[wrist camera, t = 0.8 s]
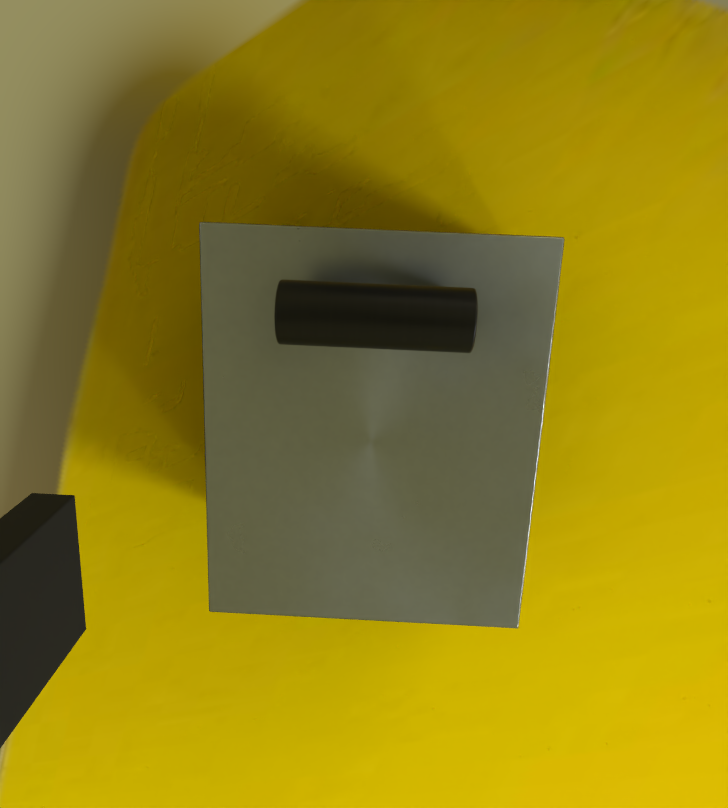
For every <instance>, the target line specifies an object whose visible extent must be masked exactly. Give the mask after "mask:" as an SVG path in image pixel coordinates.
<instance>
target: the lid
mask: <svg viewBox="0 0 728 808" xmlns="http://www.w3.org/2000/svg"><path fill="white" fill-rule="evenodd" d="M199 230H200V269H201V308H202V348H203V387H204V426H205V466H206V505H207V544H208V583H209V611H210V612H228V613H247V614H265V615H284V616H302V617H321V618H339V619H358V620H376V621H395V622H413V623H431V624H450V625H468V626H487V627H505V628H518V625H519V617H520V609H521V600H522V592H523V583H524V575H525V567H526V558H527V550H528V541H529V533H530V524H531V516H532V508H533V499H534V491H535V482H536V474H537V466H538V457H539V449H540V440H541V432H542V423H543V415H544V407H545V398H546V390H547V381H548V373H549V364H550V356H551V348H552V339H553V331H554V322H555V314H556V306H557V297H558V289H559V280H560V272H561V263H562V255H563V247H564V238H563V237H550V236H526V235H503V234H479V233H456V232H433V231H409V230H386V229H362V228H339V227H315V226H292V225H269V224H245V223H222V222H200V224H199Z"/></svg>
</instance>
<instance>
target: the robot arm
mask: <svg viewBox="0 0 728 808" xmlns="http://www.w3.org/2000/svg"><path fill="white" fill-rule="evenodd" d="M85 630H86V624H85V613H84V601H83V589H82V578H81V566H80V555H79V543H78V531H77V520H76V508H75V497H74V495H57V494H38V493H32V494H30V495H29V496H28V497H27V498H25V499H24V500H23V501H22V502H20V503H19V504H18V505H17V506H15V507H14V508H13V509H12V510H10V511H9V512H8V513H7V514H5V515H4V516H3V517H2V518H0V748H1V746H2V745H3V744H4V742H5V741H6V740H7V738H8V737H9V735H10V734H11V733H12V731H13V730H14V728H15V727H16V726H17V724H18V723H19V721H20V720H21V719H22V717H23V716H24V714H25V713H26V712H27V710H28V709H29V708H30V706H31V705H32V703H33V702H34V701H35V699H36V698H37V696H38V695H39V694H40V692H41V691H42V689H43V688H44V687H45V685H46V684H47V682H48V681H49V680H50V678H51V677H52V676H53V674H54V673H55V671H56V670H57V669H58V667H59V666H60V664H61V663H62V662H63V660H64V659H65V657H66V656H67V655H68V653H69V652H70V651H71V649H72V648H73V646H74V645H75V644H76V642H77V641H78V639H79V638H80V637H81V635H82V634H83V632H84V631H85Z"/></svg>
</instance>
